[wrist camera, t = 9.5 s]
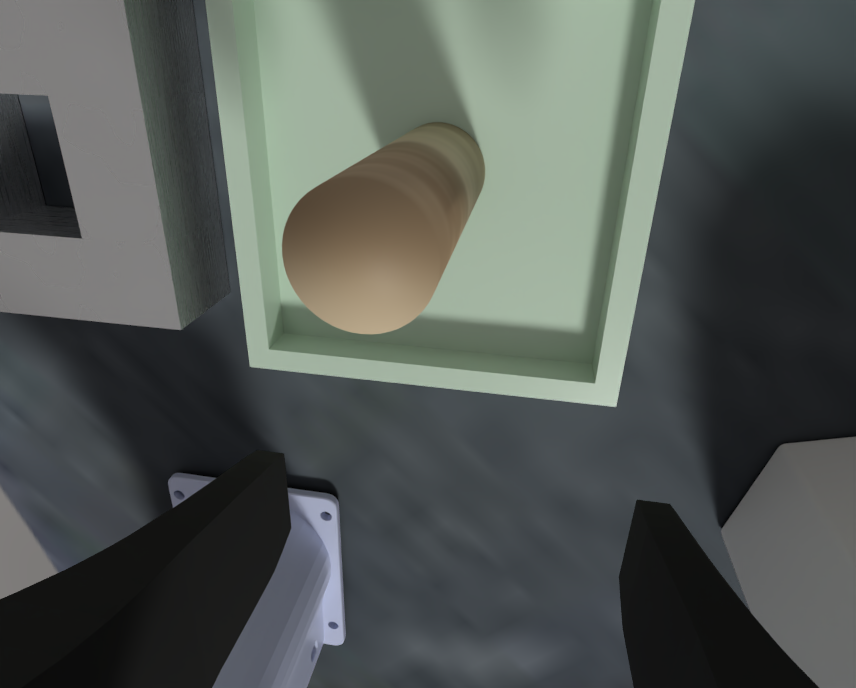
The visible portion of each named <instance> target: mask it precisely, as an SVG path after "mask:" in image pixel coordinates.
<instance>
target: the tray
mask: <svg viewBox="0 0 856 688" xmlns="http://www.w3.org/2000/svg"><path fill="white" fill-rule="evenodd" d="M205 3H206V11H207V19H208V27H209V36H210V44H211V52H212V60H213V68H214V76H215V85H216V93H217V101H218V109H219V117H220V126H221V134H222V142H223V150H224V158H225V167H226V175H227V183H228V191H229V199H230V208H231V216H232V224H233V232H234V240H235V249H236V257H237V265H238V273H239V281H240V290H241V298H242V306H243V314H244V322H245V330H246V339H247V347H248V355H249V363H250V367H256V368H265V369H274V370H283V371H292V372H302V373H311V374H320V375H329V376H338V377H347V378H356V379H366V380H375V381H384V382H393V383H402V384H411V385H420V386H429V387H439V388H448V389H457V390H466V391H475V392H484V393H493V394H503V395H512V396H521V397H530V398H539V399H548V400H557V401H567V402H576V403H585V404H594V405H603V406H612V407H616V405H617V400H618V395H619V389H620V384H621V379H622V374H623V369H624V364H625V359H626V353H627V348H628V343H629V338H630V333H631V328H632V322H633V317H634V312H635V307H636V302H637V297H638V292H639V286H640V281H641V276H642V271H643V266H644V261H645V255H646V250H647V245H648V240H649V235H650V230H651V225H652V219H653V214H654V209H655V204H656V199H657V194H658V188H659V183H660V178H661V173H662V168H663V163H664V157H665V152H666V147H667V142H668V137H669V132H670V127H671V121H672V116H673V111H674V106H675V101H676V96H677V90H678V85H679V80H680V75H681V70H682V65H683V60H684V54H685V49H686V44H687V39H688V34H689V29H690V23H691V18H692V13H693V8H694V3H695V0H205ZM432 122H443V123H448V124H452V125H455V126H457V127H459V128H461V129H462V130H464V131H465V132H467V133H468V134H469V135H470V136H471V137H472V138H473V139H474V141H475V142H476V143H477V145H478V146H479V148H480V150H481V153H482V155H483V159H484V163H485V180H484V185H483V188H482V190H481V193H480V195H479V197H478V199H477V202H476V204H475V206H474V208H473V210H472V212H471V214H470V217H469V219H468V221H467V223H466V225H465V227H464V230H463V232H462V234H461V236H460V238H459V240H458V242H457V245H456V247H455V249H454V251H453V253H452V255H451V258H450V260H449V262H448V264H447V266H446V268H445V270H444V273H443V275H442V277H441V279H440V281H439V283H438V286H437V288H436V290H435V292H434V294H433V296H432V298H431V300H430V302H429V303H428V305H427V306H426V307H425V309H424V310H423V311H422V312H421V313H420V314H419V315H418V316H417V317H416V318H415V319H414V320H412V321H411V322H410V323H408V324H406V325H405V326H403V327H401V328H399V329H396V330H393V331H390V332H386V333H382V334H358V333H352V332H348V331H345V330H342V329H339V328H337V327H334V326H332V325H330V324H328V323H327V322H325V321H323V320H322V319H320V318H319V317H318V316H316V315H315V314H314V313H313V312H312V311H310V310H309V309H308V308H307V307H306V305H305V304H304V303H303V302H302V301H301V300H300V298H299V297H298V296H297V294H296V293H295V291H294V289H293V287H292V286H291V284H290V282H289V279H288V277H287V274H286V271H285V267H284V263H283V257H282V238H283V232H284V228H285V224H286V222H287V219H288V217H289V215H290V213H291V211H292V210H293V208H294V206H295V205H296V204H297V203H298V201H299V200H300V199H301V198H302V197H303V196H304V195H305V194H306V193H308V192H309V191H311V190H312V189H314V188H315V187H317V186H318V185H320V184H322V183H323V182H325V181H327V180H328V179H330V178H332V177H333V176H335V175H337V174H339V173H340V172H342V171H344V170H345V169H347V168H349V167H350V166H352V165H354V164H355V163H357V162H359V161H361V160H362V159H364V158H366V157H367V156H369V155H371V154H372V153H374V152H376V151H377V150H379V149H381V148H383V147H384V146H386V145H388V144H389V143H391V142H393V141H394V140H396V139H398V138H399V137H401V136H403V135H405V134H406V133H408V132H410V131H411V130H413V129H415V128H417V127H419V126H421V125H424V124H427V123H432Z"/></svg>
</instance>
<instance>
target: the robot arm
mask: <svg viewBox="0 0 856 688" xmlns="http://www.w3.org/2000/svg"><path fill="white" fill-rule="evenodd" d="M168 487H169V491H170V496H171V501H172V506H173V508H172V509H171V510H169V511H167V512H166V513H164V514H163V515H161V516H159V517H158V518H156V519H155V520H153V521H151V522H150V523H148V524H147V525H145V526H143V527H142V528H140V529H139V530H137V531H135V532H134V533H132V534H131V535H129V536H127V537H126V538H124V539H122V540H120V541H119V542H117V543H115V544H113V545H112V546H110V547H108V548H106V549H104V550H103V551H101V552H99V553H97V554H95V555H93V556H91V557H89V558H87V559H86V560H84V561H82V562H80V563H78V564H76V565H74V566H72V567H70V568H68V569H66V570H64V571H62V572H60V573H57V574H55V575H53V576H51V577H49V578H47V579H44V580H42V581H40V582H38V583H36V584H34V585H32V586H29V587H27V588H25V589H23V590H21V591H18V592H16V593H14V594H12V595H9V596H7V597H5V598H2V599H0V688H307V686H308V683H309V680H310V678H311V675H312V672H313V670H314V667H315V664H316V662H317V659H318V656H319V654H320V651H321V648H322V646H323V643H325V644H331V645H341V644H342V643H343V642H344V639H345V636H346V630H345V611H344V592H343V573H342V554H341V535H340V516H339V503H338V500H337V499H336V497H334V496H333V495H331V494H328V493H321V492H314V491H307V490H300V489H293V488H287V478H286V468H285V458H284V454H283V453H275V452H267V451H260V450H256V451H255V452H253V453H252V454H250V455H249V456H247V457H246V458H244V459H243V460H241V461H240V462H239V463H237V464H236V465H234V466H233V467H231V468H230V469H229V470H227V471H226V472H224V473H223V474H222V475H220V476H219V477H217V478H214V477H206V476H199V475H192V474H185V473H175V474H173V475H172V476H171V478H170V479H169V480H168ZM180 491H181V492H182V493H181V492H180ZM183 493H184V494H183ZM325 512H328V513H330V514H331V515H328V514H326V513H325ZM619 583H620V599H621V613H622V625H623V632H624V638H625V643H626V649H627V654H628V659H629V664H630V670H631V675H632V680H633V685H634V688H819V687H818V686H817V685H816V684H815V683H814V682H813V681H812V680H811V679H810V678H809V677H808V676H807V674H806V673H805V672H804V671H803V670H802V669H801V668H800V667H799V666H798V665H797V664H796V663H795V662H794V661H793V660H792V659H791V658H790V657H789V656H788V655H787V654H786V653H785V651H784V650H783V649H782V648H781V647H780V646H779V645H778V644H777V643H776V641H775V640H774V639H773V638H772V637H771V636H770V634H769V633H768V632H767V631H766V630H765V629H764V627H763V626H762V625H761V624H760V623H759V622H758V620H757V619H756V618H755V617H754V616H753V614H752V613H751V612H750V611H749V610H748V608H747V607H746V606H745V605H744V603H743V602H742V601H741V600H740V598H739V597H738V596H737V595H736V593H735V592H734V591H733V589H732V588H731V587H730V586H729V584H728V583H727V582H726V580H725V579H724V578H723V577H722V575H721V574H720V573H719V571H718V570H717V569H716V567H715V566H714V565H713V563H712V562H711V561H710V559H709V558H708V557H707V555H706V554H705V552H704V551H703V550H702V548H701V547H700V546H699V544H698V543H697V541H696V540H695V538H694V537H693V536H692V534H691V533H690V531H689V530H688V529H687V527H686V526H685V524H684V523H683V521H682V520H681V519H680V517H679V516H678V514H677V513H676V511H675V510H674V509H673V508H672V506H671V505H670V504H666V503H658V502H650V501H643V500H637V501H636V505H635V510H634V514H633V518H632V523H631V527H630V531H629V536H628V540H627V544H626V549H625V553H624V557H623V562H622V566H621V570H620V575H619Z"/></svg>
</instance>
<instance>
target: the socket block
mask: <svg viewBox="0 0 856 688" xmlns="http://www.w3.org/2000/svg"><path fill="white" fill-rule="evenodd" d="M17 94H25V95H48V97H49V102H50V106H51V110H52V114H53V118H54V123H55V127H56V131H57V135H58V139H59V144H60V148H61V152H62V156H63V160H64V165H65V169H66V173H67V177H68V181H69V186H70V190H71V194H72V198H73V202H74V207H75V208H73V207H59V206H46V204H45V200H44V196H43V192H42V189H41V185H40V181H39V177H38V173H37V169H36V165H35V162H34V158H33V154H32V150H31V146H30V142H29V138H28V135H27V131H26V127H25V123H24V119H23V115H22V111H21V108H20V104H19V100H18V96H17ZM229 293H230V286H229V279H228V271H227V263H226V256H225V248H224V240H223V233H222V225H221V217H220V210H219V202H218V194H217V187H216V179H215V171H214V164H213V156H212V148H211V141H210V133H209V125H208V118H207V110H206V102H205V95H204V87H203V79H202V72H201V64H200V56H199V49H198V41H197V33H196V26H195V18H194V10H193V3H192V0H0V312H8V313H18V314H27V315H37V316H47V317H57V318H67V319H76V320H86V321H96V322H106V323H116V324H126V325H135V326H145V327H155V328H165V329H175V330H182V329H183V328H185V327H186V326H187V325H189V324H190V323H191V322H193V321H194V320H195V319H197V318H198V317H199V316H200V315H202V314H203V313H204V312H206V311H207V310H208V309H210V308H211V307H212V306H214V305H215V304H216V303H218V302H219V301H220V300H222V299H223V298H224V297H226V296H227V295H228V294H229Z"/></svg>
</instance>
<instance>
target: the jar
mask: <svg viewBox="0 0 856 688" xmlns="http://www.w3.org/2000/svg"><path fill="white" fill-rule="evenodd" d="M721 535H722V538H723V541H724V543H725V546H726V549H727V551H728V554H729V557H730V559H731V562H732V565H733V567H734V570H735V573H736V575H737V578H738V581H739V583H740V586H741V589H742V591H743V594H744V597H745V600H746V602H747V605H748V608H749V610H750V612H751V613H752V614H753V616H754V617H755V618H756V619H757V620H758V622H759V623H760V624H761V625H762V626H763V627H764V629H765V630H766V631H767V632H768V633H769V634H770V636H771V637H772V638H773V639H774V640H775V641H776V643H777V644H778V645H779V646H780V647H781V648H782V649H783V650H784V651H785V653H786V654H787V655H788V656H789V657H790V658H791V659H792V660H793V661H794V662H795V663H796V664H797V665H798V666H799V667H800V668H801V669H802V670H803V671H804V672H805V673H806V674H807V676H808V677H809V678H810V679H811V680H812V681H813V682H814V683H815V684H816V685H817V686H818V687H819V688H856V436H854V437H844V438H835V439H825V440H815V441H805V442H795V443H785V444H782V445H780V446H779V447H778V448H777V450H776V451H775V453H774V454H773V455H772V457H771V458H770V460H769V461H768V463H767V464H766V466H765V467H764V469H763V470H762V472H761V473H760V474H759V476H758V477H757V479H756V480H755V482H754V483H753V484H752V486H751V487H750V489H749V490H748V492H747V493H746V495H745V496H744V497H743V499H742V500H741V502H740V503H739V505H738V506H737V508H736V509H735V510H734V512H733V513H732V515H731V516H730V518H729V519H728V520H727V522H726V523H725V525H724V526H723V527H722V530H721Z"/></svg>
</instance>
